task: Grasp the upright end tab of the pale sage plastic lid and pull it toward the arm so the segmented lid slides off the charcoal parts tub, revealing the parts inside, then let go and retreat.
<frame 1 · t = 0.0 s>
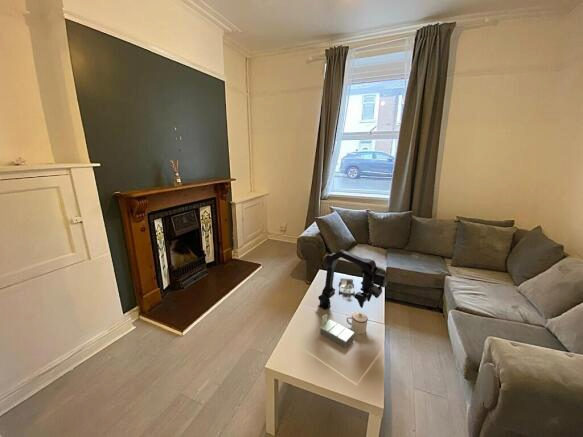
hand: (365, 304, 148), 15 cm above the table, fingers open, 9 cm apart
tub: (336, 337, 142), on the table
part ball b: (341, 338, 140), point 1 cm above the table, touching tub
teacup with lid: (356, 329, 149), on the table
part ball a: (332, 333, 143), point 1 cm above the table, touching tub
phone holder: (346, 291, 192), on the table
lid: (336, 326, 140), point 7 cm above the table, slide at 0.0 cm
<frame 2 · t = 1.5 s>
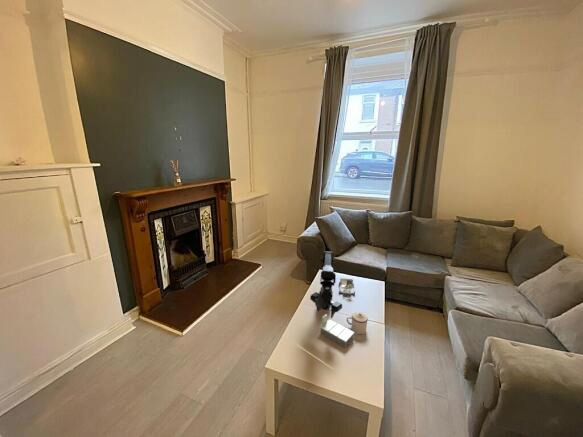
hand: (324, 314, 145), 11 cm above the table, fingers open, 9 cm apart
nothing on the table moved.
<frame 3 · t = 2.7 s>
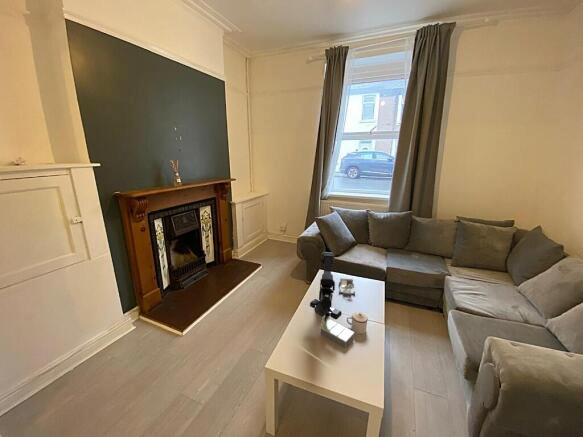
hand: (324, 321, 146), 6 cm above the table, fingers closed on lid
lid: (336, 326, 140), point 7 cm above the table, slide at 0.0 cm, touching gripper
everything else where it was.
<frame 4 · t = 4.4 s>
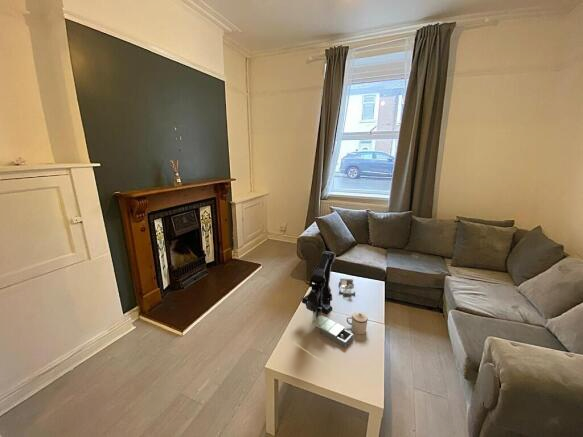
hand: (316, 316, 150), 6 cm above the table, fingers closed on lid
lid: (327, 321, 144), point 7 cm above the table, slide at 6.1 cm, touching gripper
everything else where it was.
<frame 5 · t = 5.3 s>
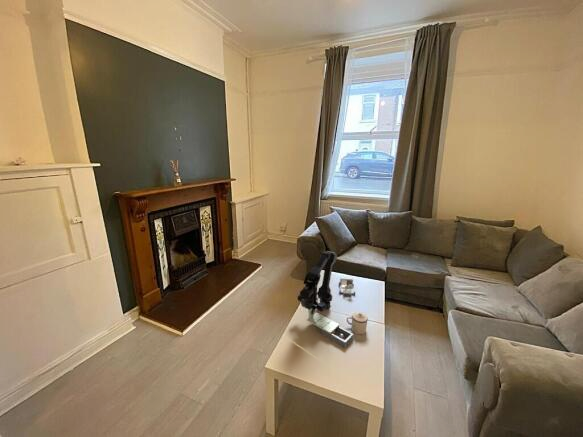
hand: (311, 314, 152), 6 cm above the table, fingers closed on lid
lid: (322, 318, 147), point 7 cm above the table, slide at 9.8 cm, touching gripper
everything else where it was.
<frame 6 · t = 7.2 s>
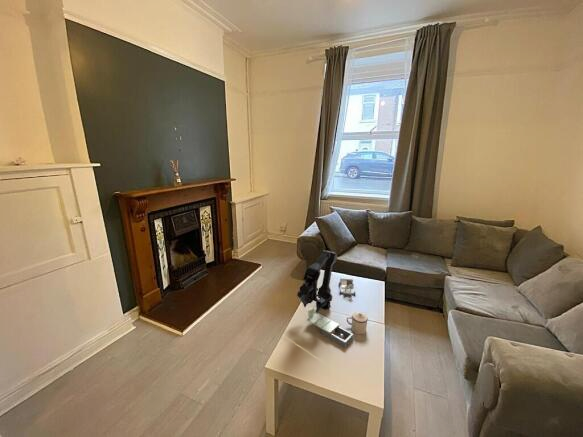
hand: (311, 310, 151), 9 cm above the table, fingers open, 9 cm apart
lid: (322, 318, 147), point 7 cm above the table, slide at 9.9 cm
everything else where it was.
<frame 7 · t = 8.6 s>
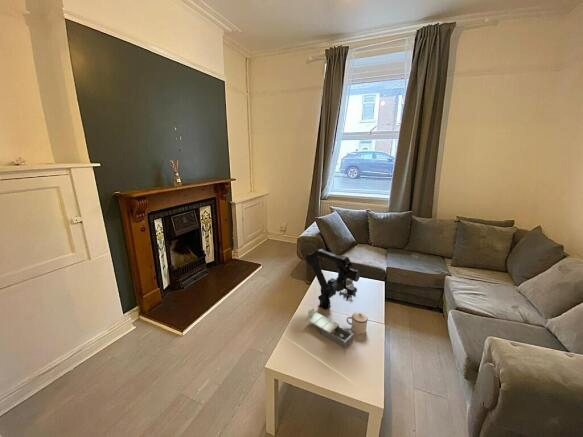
hand: (340, 297, 160), 12 cm above the table, fingers open, 9 cm apart
nothing on the table moved.
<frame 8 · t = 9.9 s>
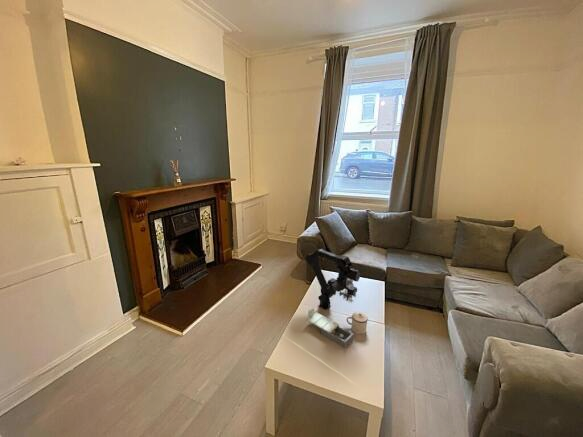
hand: (340, 297, 160), 12 cm above the table, fingers open, 9 cm apart
nothing on the table moved.
at the end: lid slide at 9.9 cm; the gripper is holding nothing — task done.
